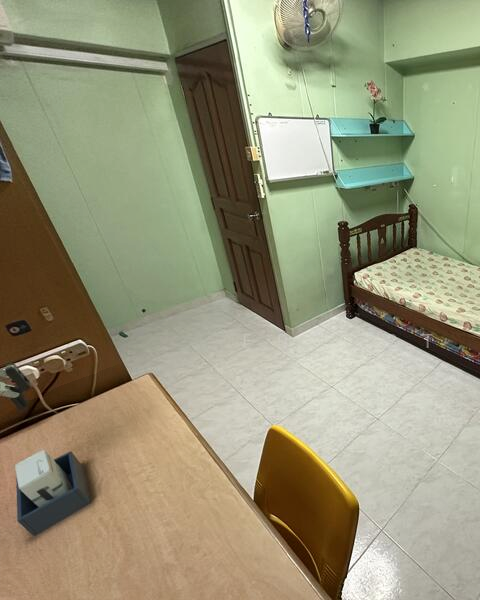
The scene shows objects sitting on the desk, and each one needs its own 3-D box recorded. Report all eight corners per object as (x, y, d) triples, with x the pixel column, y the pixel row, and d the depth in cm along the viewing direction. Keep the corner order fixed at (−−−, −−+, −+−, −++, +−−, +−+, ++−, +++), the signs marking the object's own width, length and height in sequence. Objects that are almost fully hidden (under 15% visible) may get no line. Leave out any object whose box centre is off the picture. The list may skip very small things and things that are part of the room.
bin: (34, 537, 66) (17, 521, 63) (32, 493, 74) (16, 477, 71) (91, 503, 72) (78, 487, 69) (83, 467, 80) (71, 450, 77)
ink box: (42, 494, 74) (13, 463, 68) (70, 478, 77) (45, 447, 71) (48, 519, 69) (17, 488, 63) (78, 501, 72) (51, 470, 67)
